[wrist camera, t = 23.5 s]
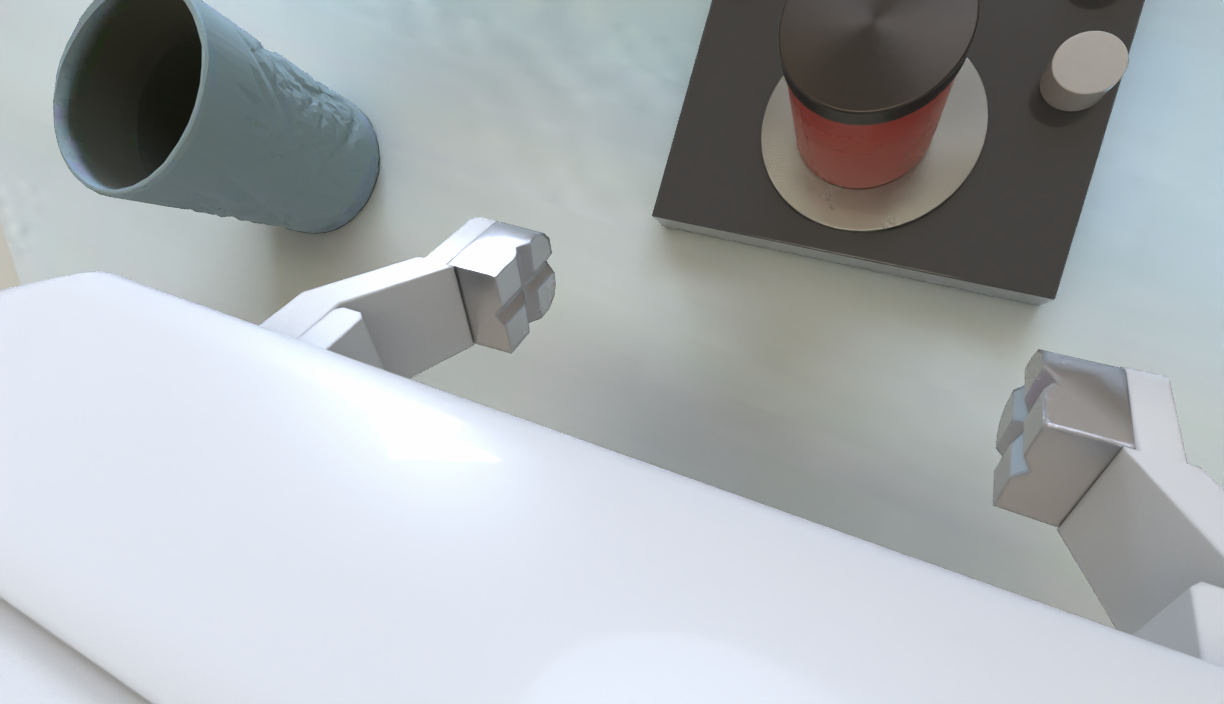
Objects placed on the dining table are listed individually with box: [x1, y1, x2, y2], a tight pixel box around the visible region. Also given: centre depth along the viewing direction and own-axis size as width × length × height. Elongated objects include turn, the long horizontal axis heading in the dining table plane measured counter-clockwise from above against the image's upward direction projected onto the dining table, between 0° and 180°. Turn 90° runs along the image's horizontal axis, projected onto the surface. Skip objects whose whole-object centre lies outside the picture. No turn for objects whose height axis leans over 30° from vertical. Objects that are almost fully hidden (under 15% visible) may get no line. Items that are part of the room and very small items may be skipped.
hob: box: [652, 0, 1145, 306], centre depth 28 cm, size 17×22×4 cm
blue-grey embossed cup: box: [53, 0, 379, 233], centre depth 34 cm, size 10×10×12 cm
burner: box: [761, 58, 989, 233], centre depth 27 cm, size 9×9×1 cm
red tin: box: [778, 0, 980, 188], centre depth 23 cm, size 6×6×8 cm
